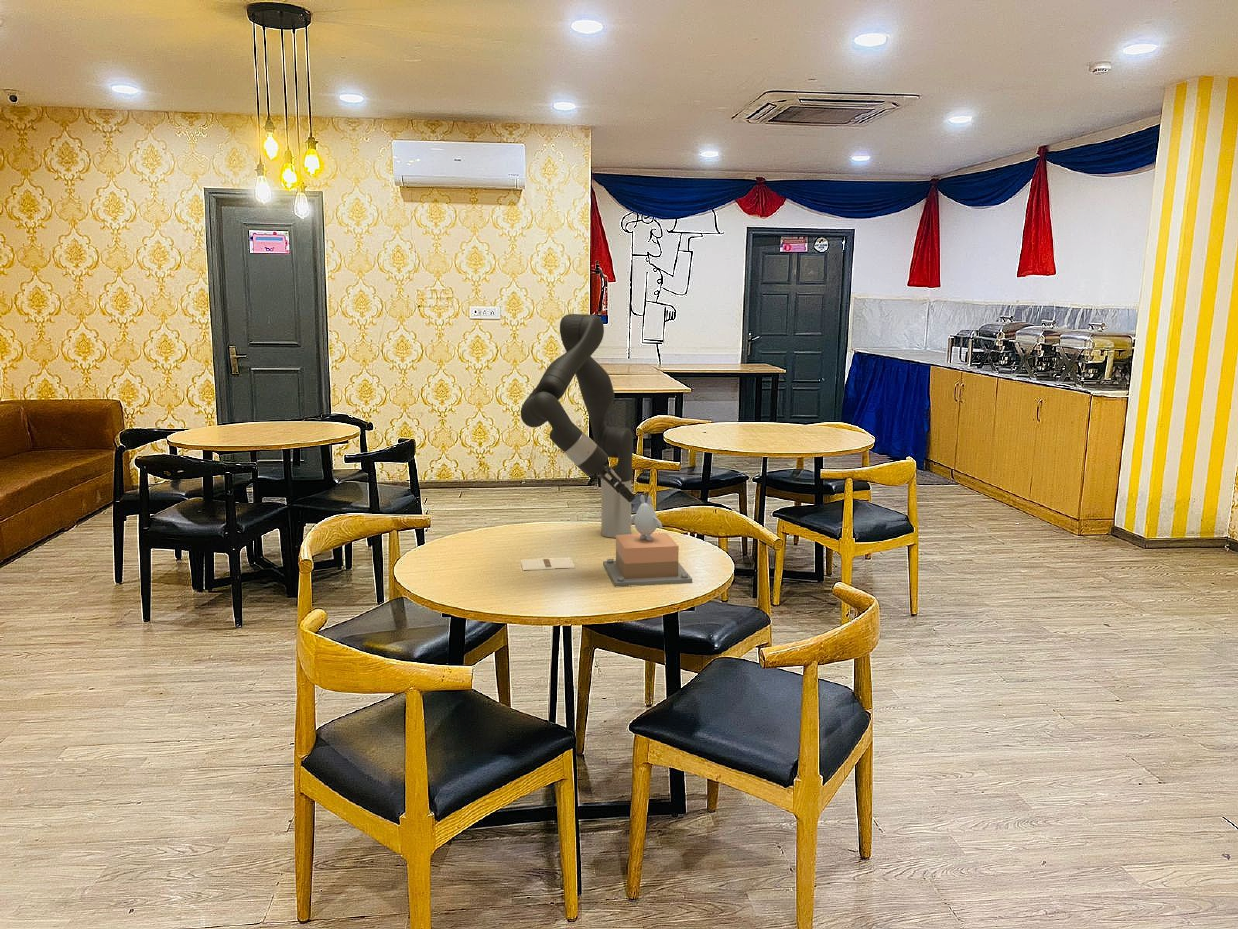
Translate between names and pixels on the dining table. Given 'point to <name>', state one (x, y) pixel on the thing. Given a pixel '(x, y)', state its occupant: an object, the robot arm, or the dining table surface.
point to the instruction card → (547, 563)
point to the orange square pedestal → (646, 561)
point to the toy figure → (646, 519)
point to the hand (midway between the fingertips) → (629, 496)
